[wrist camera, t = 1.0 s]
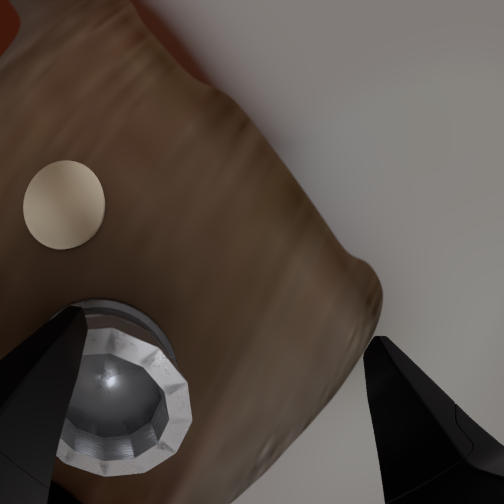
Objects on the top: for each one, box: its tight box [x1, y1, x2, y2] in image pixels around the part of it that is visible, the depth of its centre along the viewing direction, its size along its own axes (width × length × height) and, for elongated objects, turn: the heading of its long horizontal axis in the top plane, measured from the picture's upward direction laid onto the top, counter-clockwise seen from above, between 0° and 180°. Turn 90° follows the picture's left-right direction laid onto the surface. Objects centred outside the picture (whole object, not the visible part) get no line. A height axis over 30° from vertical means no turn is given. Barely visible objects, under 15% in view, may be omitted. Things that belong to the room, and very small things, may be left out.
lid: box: [23, 161, 105, 249], centre depth 19 cm, size 6×6×3 cm
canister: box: [50, 298, 192, 477], centre depth 19 cm, size 12×12×7 cm
